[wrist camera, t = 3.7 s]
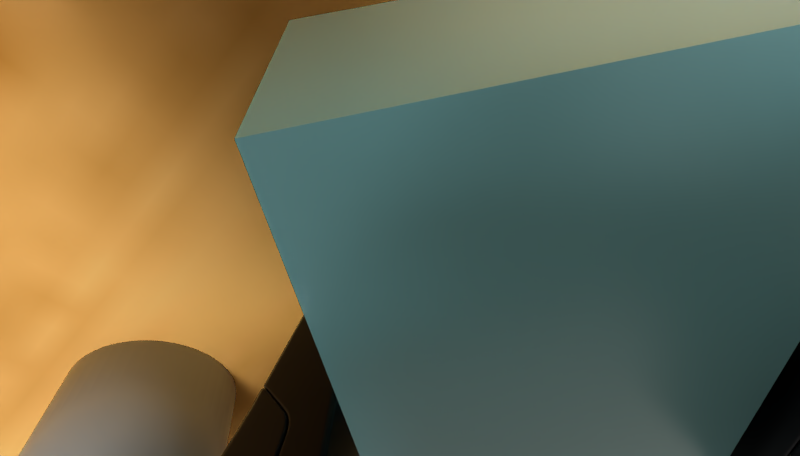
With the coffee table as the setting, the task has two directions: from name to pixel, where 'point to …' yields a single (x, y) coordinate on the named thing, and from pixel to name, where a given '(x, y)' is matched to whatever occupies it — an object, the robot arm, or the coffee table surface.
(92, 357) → the grey cylinder
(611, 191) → the teal long brick
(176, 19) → the coffee table surface
